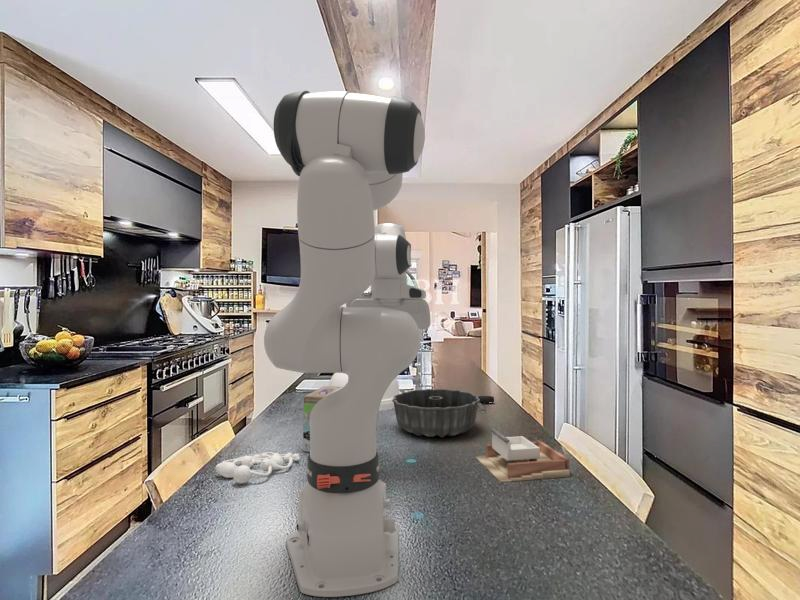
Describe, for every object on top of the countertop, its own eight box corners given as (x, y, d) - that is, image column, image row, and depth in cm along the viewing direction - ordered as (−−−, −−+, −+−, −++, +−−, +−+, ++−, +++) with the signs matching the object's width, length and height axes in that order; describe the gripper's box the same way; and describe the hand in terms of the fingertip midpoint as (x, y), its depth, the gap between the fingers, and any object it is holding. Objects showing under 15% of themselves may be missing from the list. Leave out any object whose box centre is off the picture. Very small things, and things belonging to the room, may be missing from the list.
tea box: (338, 455, 120) (338, 397, 119) (301, 452, 122) (301, 395, 121) (355, 437, 134) (355, 386, 134) (322, 435, 136) (322, 384, 136)
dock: (571, 476, 106) (571, 460, 106) (500, 482, 102) (500, 465, 102) (537, 452, 121) (537, 438, 121) (475, 457, 118) (475, 442, 118)
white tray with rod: (539, 465, 108) (540, 437, 108) (505, 467, 106) (505, 439, 106) (522, 452, 117) (522, 426, 117) (490, 454, 115) (490, 428, 115)
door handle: (502, 407, 162) (491, 394, 178) (445, 407, 161) (439, 394, 177) (502, 416, 162) (491, 402, 178) (445, 417, 161) (439, 403, 177)
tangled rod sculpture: (277, 457, 122) (276, 441, 122) (313, 465, 113) (313, 447, 113) (206, 477, 107) (206, 459, 107) (242, 489, 98) (242, 468, 98)
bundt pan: (380, 438, 133) (379, 403, 133) (406, 415, 158) (406, 386, 158) (472, 447, 125) (472, 410, 125) (484, 421, 151) (484, 391, 150)
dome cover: (316, 397, 187) (315, 362, 187) (386, 391, 198) (386, 358, 198) (334, 417, 157) (334, 375, 157) (416, 409, 168) (416, 370, 168)
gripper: (346, 291, 109) (346, 350, 109) (432, 291, 112) (432, 348, 113) (345, 291, 115) (345, 347, 115) (426, 291, 119) (426, 346, 119)
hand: (388, 348), depth 114 cm, fingers closed
